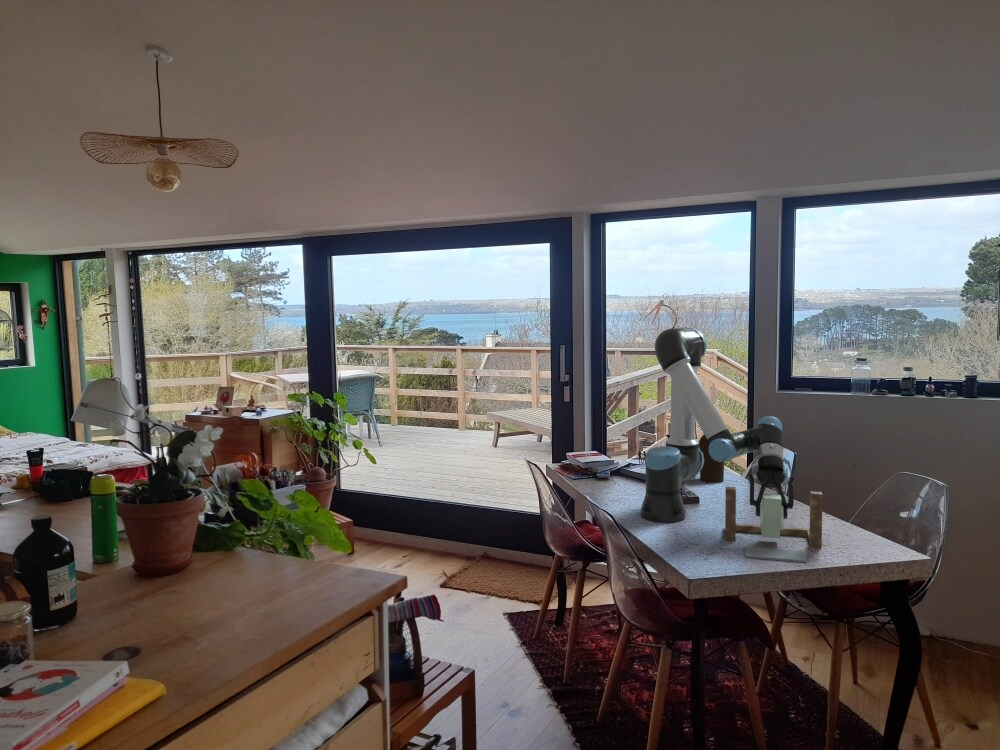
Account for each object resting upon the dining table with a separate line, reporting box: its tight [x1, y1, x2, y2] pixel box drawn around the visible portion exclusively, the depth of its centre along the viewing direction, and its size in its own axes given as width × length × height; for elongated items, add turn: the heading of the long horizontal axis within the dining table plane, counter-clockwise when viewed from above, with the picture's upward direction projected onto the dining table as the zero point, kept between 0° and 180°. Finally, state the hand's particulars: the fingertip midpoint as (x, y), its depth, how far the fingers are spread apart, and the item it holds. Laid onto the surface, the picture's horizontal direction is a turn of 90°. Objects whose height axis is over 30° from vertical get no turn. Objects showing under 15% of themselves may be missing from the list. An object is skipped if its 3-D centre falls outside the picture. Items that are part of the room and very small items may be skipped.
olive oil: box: [698, 434, 725, 483], centre depth 287 cm, size 11×11×25 cm
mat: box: [744, 546, 808, 564], centre depth 196 cm, size 16×8×1 cm, turn 72°
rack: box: [724, 486, 824, 549], centre depth 211 cm, size 27×12×16 cm, turn 72°
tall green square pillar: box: [760, 493, 782, 540], centre depth 208 cm, size 5×5×12 cm
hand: (771, 526), depth 204 cm, fingers closed on tall green square pillar, 5 cm apart
